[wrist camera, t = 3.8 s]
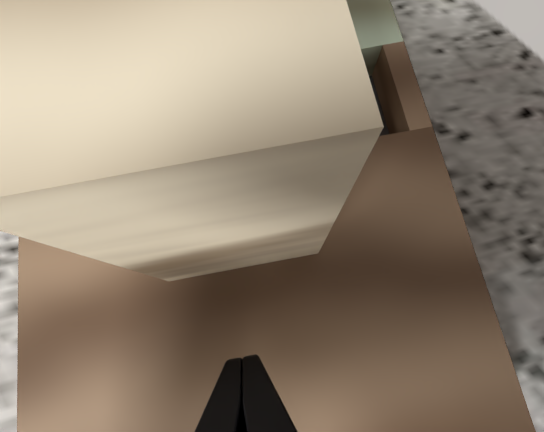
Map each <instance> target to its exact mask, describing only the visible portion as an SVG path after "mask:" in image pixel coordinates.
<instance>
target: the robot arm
mask: <svg viewBox="0 0 544 432" xmlns="http://www.w3.org/2000/svg"><path fill="white" fill-rule="evenodd" d="M194 432H298V431H297V429H296V427H295V425H294V424H293V422H292V420H291V418H290V416H289V414H288V412H287V410H286V408H285V406H284V404H283V402H282V400H281V398H280V396H279V394H278V392H277V390H276V389H275V387H274V385H273V383H272V381H271V379H270V377H269V375H268V373H267V371H266V369H265V367H264V365H263V363H262V361H261V359H260V357H259V356H258V355H257V354H254V355H249V356H245V357H243V359H242V358H241V357H238V358H233V359H229V360H227V361H226V362H225V364H224V366H223V369H222V371H221V373H220V375H219V377H218V380H217V382H216V384H215V386H214V389H213V391H212V393H211V395H210V398H209V400H208V402H207V404H206V407H205V409H204V411H203V413H202V416H201V418H200V420H199V422H198V425H197V427H196V429H195V431H194Z"/></svg>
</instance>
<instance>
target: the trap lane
mask: <svg viewBox="0 0 544 432" xmlns="http://www.w3.org/2000/svg"><path fill="white" fill-rule="evenodd" d="M346 1H347V4H348V8H349V11H350V14H351V18H352V21H353V25H354V28H355V31H356V35H357V38H358V41H359V45H360V48H361V52H362V55H363V58H364V62H365V65H366V68H367V72H368V75H369V78H370V82H371V85H372V89H373V92H374V95H375V99H376V102H377V105H378V109H379V112H380V115H381V119H382V122H383V126H384V127H383V129H382V131H381V133H380V135H379V137H378V139H377V141H376V143H375V145H374V147H373V149H372V151H371V152H370V154H369V156H368V158H367V160H366V162H365V164H364V166H363V168H362V170H361V172H360V174H359V176H358V178H357V180H356V181H355V183H354V185H353V187H352V189H351V191H350V193H349V195H348V197H347V199H346V201H345V203H344V205H343V207H342V208H341V210H340V212H339V214H338V216H337V218H336V220H335V222H334V224H333V226H332V228H331V230H330V232H329V234H328V236H327V237H326V239H325V241H324V243H323V245H322V247H321V249H320V251H319V253H318V254H313V255H307V256H302V257H297V258H291V259H286V260H281V261H275V262H270V263H265V264H259V265H254V266H248V267H243V268H238V269H232V270H227V271H222V272H216V273H211V274H206V275H200V276H195V277H190V278H184V279H179V280H174V281H166V280H163V279H159V278H156V277H153V276H149V275H146V274H143V273H139V272H136V271H133V270H129V269H126V268H122V267H119V266H116V265H112V264H109V263H106V262H102V261H99V260H96V259H92V258H89V257H86V256H82V255H79V254H76V253H72V252H69V251H66V250H62V249H59V248H56V247H52V246H49V245H46V244H42V243H39V242H36V241H32V240H29V239H26V238H22V237H19V260H18V381H17V432H194V431H195V429H196V427H197V425H198V422H199V420H200V418H201V416H202V413H203V411H204V409H205V407H206V404H207V402H208V400H209V398H210V395H211V393H212V391H213V389H214V386H215V384H216V382H217V380H218V377H219V375H220V373H221V371H222V369H223V366H224V364H225V362H226V361H227V360H229V359H233V358H238V357H241V358H242V359H243V357H245V356H249V355H254V354H257V355H258V356H259V357H260V359H261V361H262V363H263V365H264V367H265V369H266V371H267V373H268V375H269V377H270V379H271V381H272V383H273V385H274V387H275V389H276V390H277V392H278V394H279V396H280V398H281V400H282V402H283V404H284V406H285V408H286V410H287V412H288V414H289V416H290V418H291V420H292V422H293V424H294V425H295V427H296V429H297V431H298V432H536V431H535V428H534V425H533V423H532V420H531V417H530V414H529V411H528V408H527V405H526V402H525V399H524V396H523V393H522V390H521V387H520V384H519V381H518V378H517V375H516V372H515V369H514V366H513V363H512V360H511V357H510V354H509V351H508V349H507V346H506V343H505V340H504V337H503V334H502V331H501V328H500V325H499V322H498V319H497V316H496V313H495V310H494V307H493V304H492V301H491V298H490V295H489V292H488V289H487V286H486V283H485V280H484V277H483V275H482V272H481V269H480V266H479V263H478V260H477V257H476V254H475V251H474V248H473V245H472V242H471V239H470V236H469V233H468V230H467V227H466V224H465V221H464V218H463V215H462V212H461V209H460V206H459V203H458V201H457V198H456V195H455V192H454V189H453V186H452V183H451V180H450V177H449V174H448V171H447V168H446V165H445V162H444V159H443V156H442V153H441V150H440V147H439V144H438V141H437V138H436V135H435V132H434V129H433V126H432V124H431V121H430V118H429V115H428V112H427V109H426V106H425V103H424V100H423V97H422V94H421V91H420V88H419V85H418V82H417V79H416V76H415V73H414V70H413V67H412V64H411V61H410V58H409V55H408V52H407V50H406V47H405V44H404V41H403V38H402V35H401V32H400V29H399V26H398V23H397V20H396V17H395V14H394V11H393V8H392V5H391V2H390V0H346Z"/></svg>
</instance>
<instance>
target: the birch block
mask: <svg viewBox="0 0 544 432" xmlns="http://www.w3.org/2000/svg"><path fill="white" fill-rule="evenodd" d="M383 127H384V126H383V122H382V119H381V115H380V112H379V109H378V105H377V102H376V99H375V95H374V92H373V89H372V85H371V82H370V78H369V75H368V72H367V68H366V65H365V62H364V58H363V55H362V52H361V48H360V45H359V41H358V38H357V35H356V31H355V28H354V25H353V21H352V18H351V14H350V11H349V8H348V4H347V1H346V0H0V231H2V232H5V233H9V234H12V235H15V236H19V237H22V238H26V239H29V240H32V241H36V242H39V243H42V244H46V245H49V246H52V247H56V248H59V249H62V250H66V251H69V252H72V253H76V254H79V255H82V256H86V257H89V258H92V259H96V260H99V261H102V262H106V263H109V264H112V265H116V266H119V267H122V268H126V269H129V270H133V271H136V272H139V273H143V274H146V275H149V276H153V277H156V278H159V279H163V280H166V281H174V280H179V279H184V278H190V277H195V276H200V275H206V274H211V273H216V272H222V271H227V270H232V269H238V268H243V267H248V266H254V265H259V264H265V263H270V262H275V261H281V260H286V259H291V258H297V257H302V256H307V255H313V254H318V253H319V251H320V249H321V247H322V245H323V243H324V241H325V239H326V237H327V236H328V234H329V232H330V230H331V228H332V226H333V224H334V222H335V220H336V218H337V216H338V214H339V212H340V210H341V208H342V207H343V205H344V203H345V201H346V199H347V197H348V195H349V193H350V191H351V189H352V187H353V185H354V183H355V181H356V180H357V178H358V176H359V174H360V172H361V170H362V168H363V166H364V164H365V162H366V160H367V158H368V156H369V154H370V152H371V151H372V149H373V147H374V145H375V143H376V141H377V139H378V137H379V135H380V133H381V131H382V129H383Z"/></svg>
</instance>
